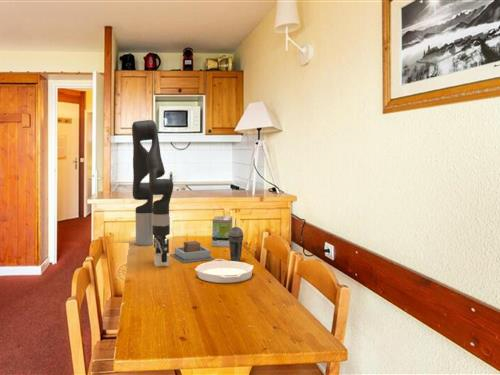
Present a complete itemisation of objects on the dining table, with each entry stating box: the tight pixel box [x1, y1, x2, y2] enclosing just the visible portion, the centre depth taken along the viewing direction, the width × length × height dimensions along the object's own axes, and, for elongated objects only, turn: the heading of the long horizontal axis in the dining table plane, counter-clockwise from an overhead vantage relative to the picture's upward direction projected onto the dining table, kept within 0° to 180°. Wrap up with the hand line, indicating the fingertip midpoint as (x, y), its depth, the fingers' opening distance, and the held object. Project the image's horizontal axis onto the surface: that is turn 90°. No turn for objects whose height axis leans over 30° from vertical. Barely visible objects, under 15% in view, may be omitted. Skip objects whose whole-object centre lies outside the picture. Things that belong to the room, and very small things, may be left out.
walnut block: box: [183, 240, 201, 253], centre depth 210 cm, size 6×6×6 cm
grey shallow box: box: [169, 245, 216, 264], centre depth 210 cm, size 18×16×4 cm
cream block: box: [153, 252, 170, 267], centre depth 197 cm, size 6×6×4 cm
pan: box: [194, 258, 255, 284], centre depth 180 cm, size 24×27×4 cm
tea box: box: [211, 215, 233, 248], centre depth 241 cm, size 15×10×15 cm
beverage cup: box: [228, 217, 245, 262], centre depth 205 cm, size 7×7×20 cm
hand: (161, 260), depth 196 cm, fingers open, 8 cm apart
